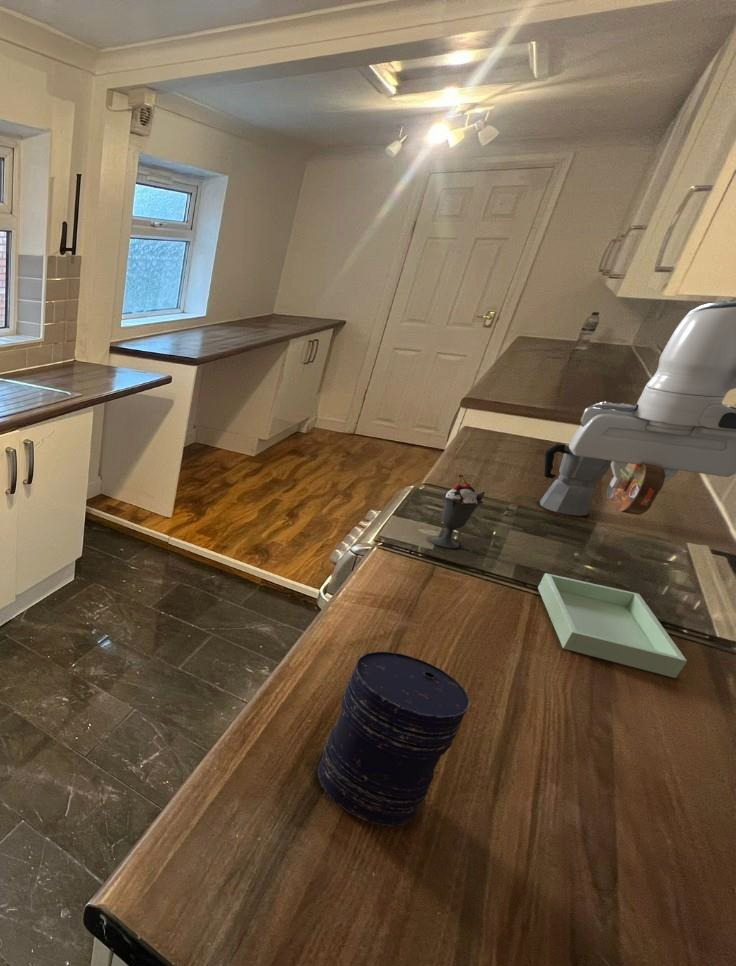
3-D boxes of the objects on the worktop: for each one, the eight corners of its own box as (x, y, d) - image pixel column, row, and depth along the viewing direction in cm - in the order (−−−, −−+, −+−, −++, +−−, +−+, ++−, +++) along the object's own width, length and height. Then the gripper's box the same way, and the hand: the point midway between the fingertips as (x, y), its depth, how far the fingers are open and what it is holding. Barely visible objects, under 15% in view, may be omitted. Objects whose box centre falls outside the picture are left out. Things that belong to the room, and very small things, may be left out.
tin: (602, 492, 106) (622, 447, 103) (626, 495, 105) (647, 450, 101) (622, 519, 95) (645, 470, 91) (648, 523, 93) (673, 473, 90)
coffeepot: (580, 504, 143) (616, 433, 135) (607, 519, 135) (647, 444, 127) (511, 498, 145) (542, 428, 137) (533, 512, 137) (568, 439, 129)
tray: (630, 608, 99) (639, 593, 98) (675, 678, 83) (687, 661, 81) (537, 587, 105) (545, 572, 104) (562, 648, 88) (572, 632, 87)
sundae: (418, 539, 122) (444, 472, 115) (439, 534, 124) (465, 468, 118) (449, 552, 117) (478, 483, 110) (470, 547, 119) (500, 479, 112)
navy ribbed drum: (374, 840, 58) (426, 729, 51) (297, 767, 66) (332, 663, 59) (438, 808, 62) (494, 700, 55) (357, 743, 70) (397, 642, 63)
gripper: (594, 403, 95) (556, 482, 101) (775, 423, 85) (722, 509, 91) (585, 396, 99) (550, 472, 106) (756, 414, 90) (707, 496, 96)
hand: (631, 489), depth 98 cm, fingers closed on tin, 2 cm apart
